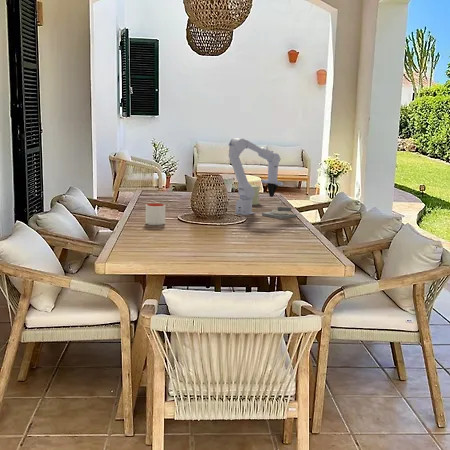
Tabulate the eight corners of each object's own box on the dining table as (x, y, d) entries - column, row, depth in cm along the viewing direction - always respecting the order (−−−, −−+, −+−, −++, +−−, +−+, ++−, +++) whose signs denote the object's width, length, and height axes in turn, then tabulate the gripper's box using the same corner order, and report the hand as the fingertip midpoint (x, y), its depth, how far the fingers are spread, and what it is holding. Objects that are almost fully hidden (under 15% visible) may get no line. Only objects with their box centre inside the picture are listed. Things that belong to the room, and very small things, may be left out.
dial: (272, 214, 344) (272, 208, 343) (271, 211, 353) (271, 205, 352) (291, 215, 344) (292, 209, 343) (289, 212, 353) (290, 206, 352)
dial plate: (281, 219, 339) (281, 216, 339) (262, 215, 348) (262, 212, 348) (296, 216, 349) (296, 213, 349) (277, 213, 358) (277, 210, 358)
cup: (141, 224, 309) (141, 205, 307) (152, 221, 318) (153, 202, 316) (157, 226, 305) (158, 207, 303) (168, 223, 313) (169, 204, 311)
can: (259, 205, 386) (260, 186, 383) (244, 204, 386) (245, 185, 384) (258, 202, 395) (259, 184, 393) (244, 202, 395) (245, 183, 393)
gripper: (286, 174, 354) (285, 197, 357) (267, 172, 364) (266, 194, 366) (279, 175, 349) (278, 198, 351) (259, 172, 358) (258, 195, 361)
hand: (271, 196), depth 358 cm, fingers closed
